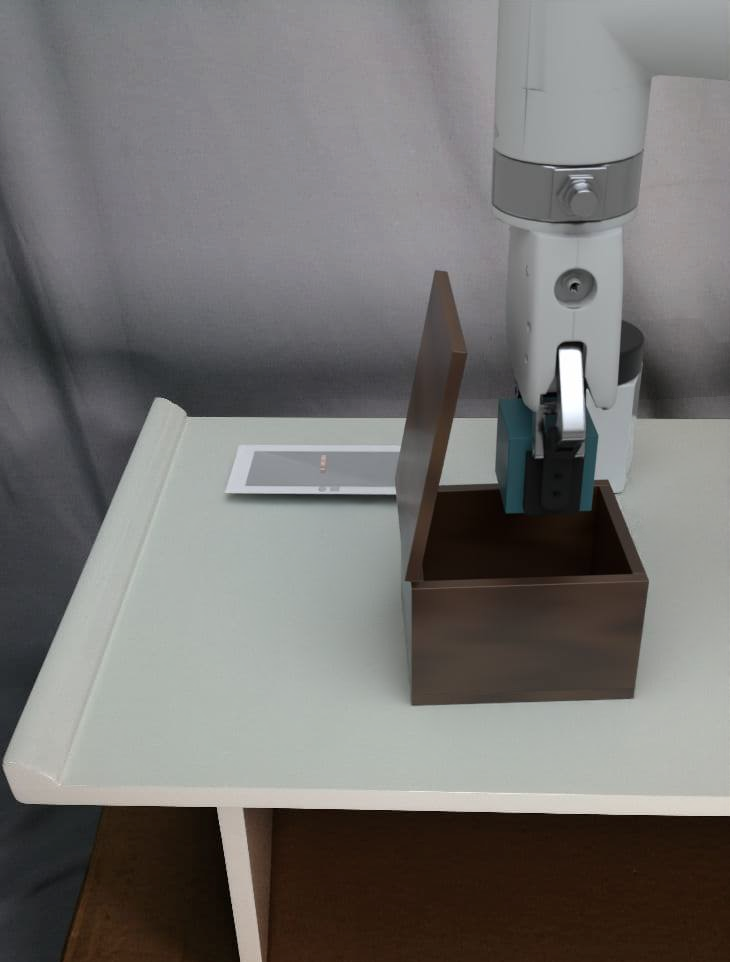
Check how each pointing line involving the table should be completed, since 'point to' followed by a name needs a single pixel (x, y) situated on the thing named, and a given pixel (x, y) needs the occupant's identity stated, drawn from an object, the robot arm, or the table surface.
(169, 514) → the table surface
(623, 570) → the chest
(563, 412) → the robot arm
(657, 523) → the table surface
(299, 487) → the touchpad
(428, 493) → the lid
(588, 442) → the block
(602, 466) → the jar
